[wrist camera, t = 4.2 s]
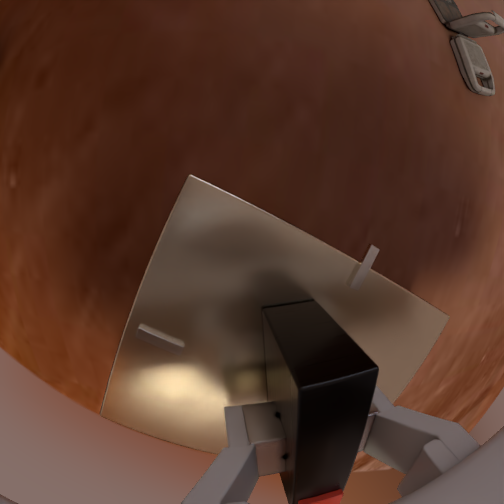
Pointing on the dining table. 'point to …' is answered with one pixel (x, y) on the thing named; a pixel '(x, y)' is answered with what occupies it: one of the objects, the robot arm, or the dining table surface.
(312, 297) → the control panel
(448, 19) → the strap clip
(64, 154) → the dining table surface
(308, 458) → the red-capped black bar
